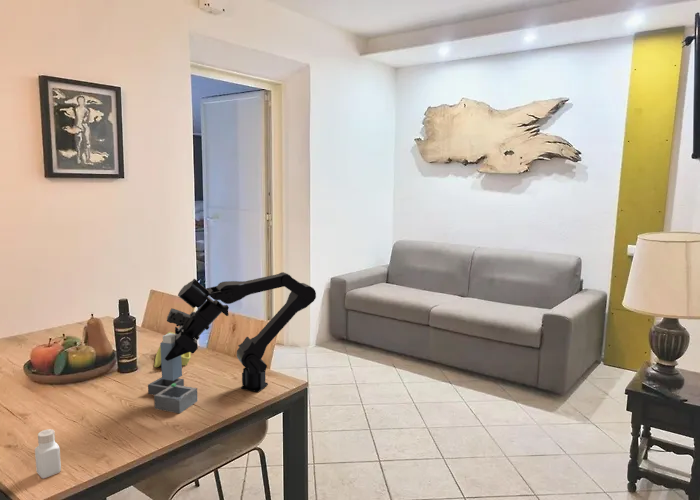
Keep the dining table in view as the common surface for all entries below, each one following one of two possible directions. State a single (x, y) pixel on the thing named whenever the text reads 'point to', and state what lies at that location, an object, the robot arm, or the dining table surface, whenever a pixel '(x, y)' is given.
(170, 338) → the plug
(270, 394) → the dining table surface
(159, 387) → the frame
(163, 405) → the socket block
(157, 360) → the plastic component
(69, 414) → the dining table surface
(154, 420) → the dining table surface
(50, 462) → the white pill bottle
